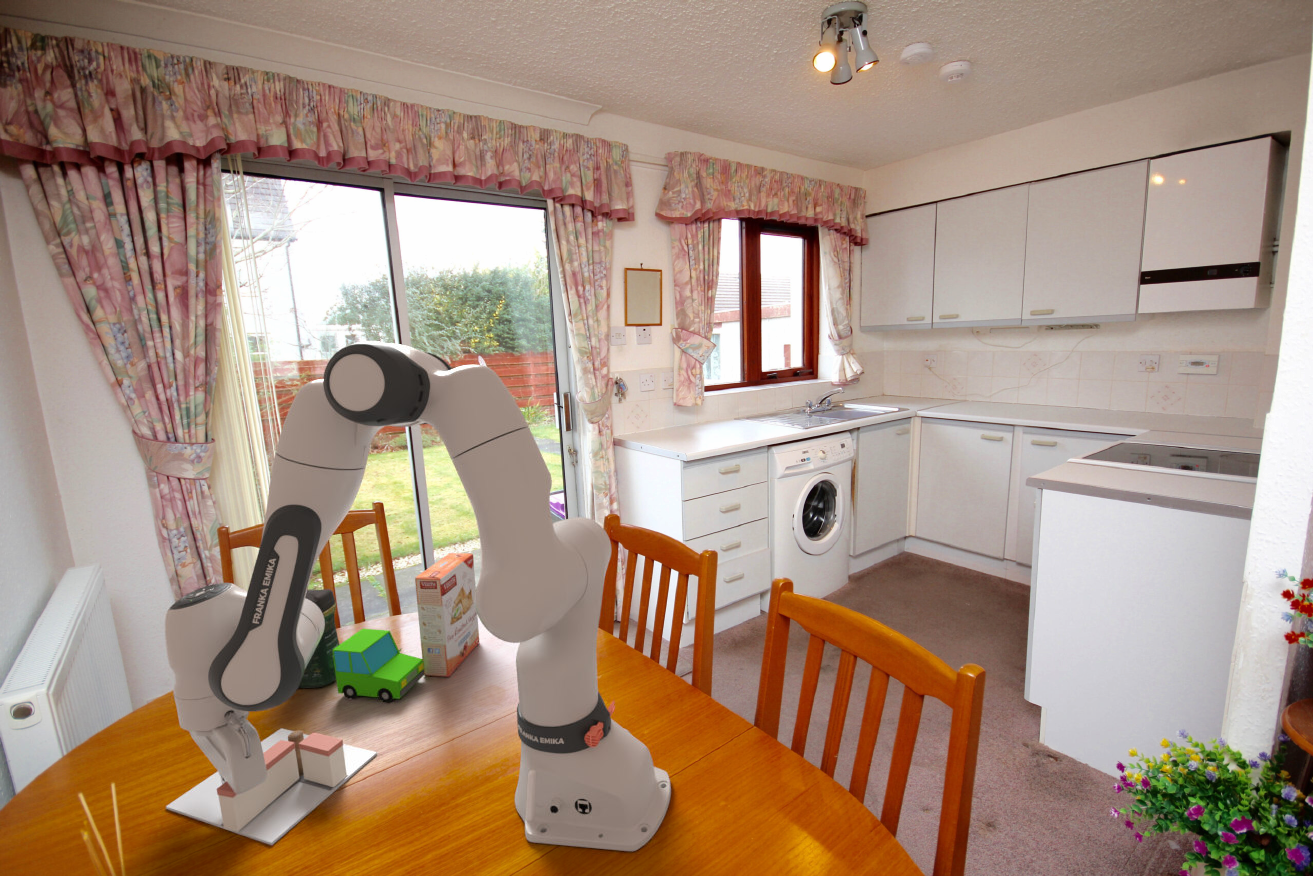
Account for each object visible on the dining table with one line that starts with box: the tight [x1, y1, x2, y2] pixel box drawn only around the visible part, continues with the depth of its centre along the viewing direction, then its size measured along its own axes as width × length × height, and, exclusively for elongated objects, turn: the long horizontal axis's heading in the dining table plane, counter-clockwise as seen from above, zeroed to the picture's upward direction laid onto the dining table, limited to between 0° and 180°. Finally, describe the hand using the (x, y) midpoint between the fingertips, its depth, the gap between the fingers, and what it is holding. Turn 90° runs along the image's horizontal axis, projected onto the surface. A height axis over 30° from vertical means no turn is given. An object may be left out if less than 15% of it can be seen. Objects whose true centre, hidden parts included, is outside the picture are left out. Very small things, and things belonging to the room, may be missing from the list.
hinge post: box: [288, 730, 304, 776], centre depth 90 cm, size 2×2×7 cm
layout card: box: [165, 727, 378, 846], centre depth 89 cm, size 21×18×1 cm
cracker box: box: [414, 552, 480, 678], centre depth 121 cm, size 14×6×21 cm, turn 172°
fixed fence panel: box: [298, 732, 347, 787], centre depth 88 cm, size 6×3×6 cm, turn 71°
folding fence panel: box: [217, 740, 299, 832], centre depth 83 cm, size 10×3×6 cm, turn 166°
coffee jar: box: [297, 588, 341, 689], centre depth 115 cm, size 10×8×19 cm
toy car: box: [332, 628, 425, 704], centre depth 111 cm, size 10×13×10 cm
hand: (232, 788), depth 83 cm, fingers closed
